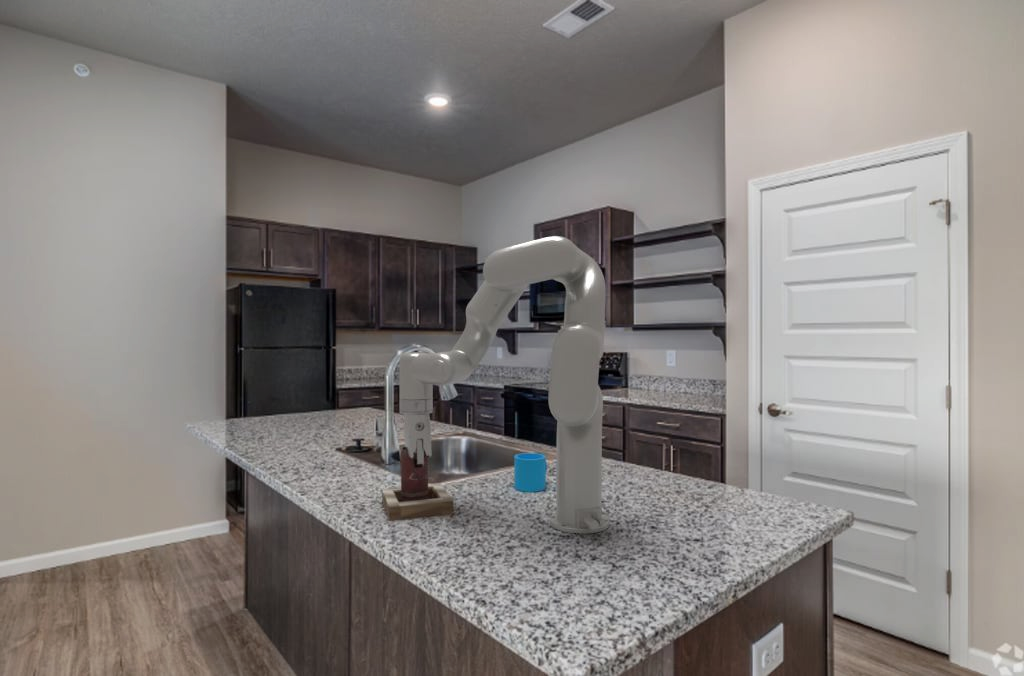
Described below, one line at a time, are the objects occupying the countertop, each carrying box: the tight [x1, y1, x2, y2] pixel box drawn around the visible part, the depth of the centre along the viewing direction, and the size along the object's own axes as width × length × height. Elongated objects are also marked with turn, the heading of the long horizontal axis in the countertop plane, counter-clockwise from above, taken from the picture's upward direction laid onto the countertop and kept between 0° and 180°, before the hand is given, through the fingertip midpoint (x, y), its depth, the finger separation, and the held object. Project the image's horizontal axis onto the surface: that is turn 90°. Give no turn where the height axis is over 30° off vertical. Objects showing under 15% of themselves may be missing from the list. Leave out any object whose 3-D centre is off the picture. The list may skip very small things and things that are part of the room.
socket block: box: [381, 483, 454, 522], centre depth 126 cm, size 14×14×3 cm
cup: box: [400, 446, 429, 502], centre depth 126 cm, size 6×6×14 cm
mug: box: [513, 452, 548, 493], centre depth 145 cm, size 12×8×8 cm
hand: (416, 485), depth 126 cm, fingers closed
